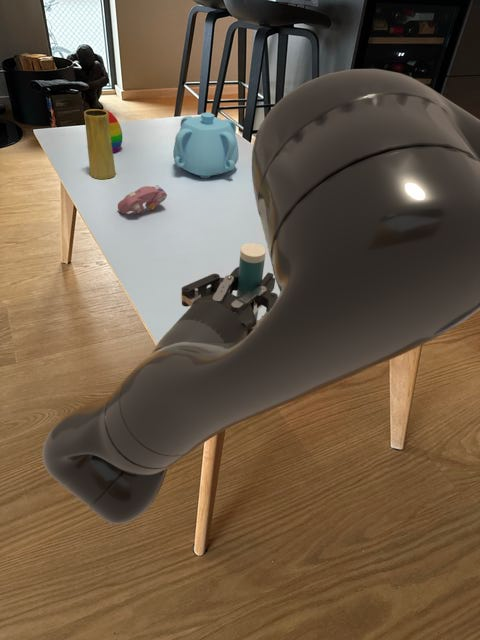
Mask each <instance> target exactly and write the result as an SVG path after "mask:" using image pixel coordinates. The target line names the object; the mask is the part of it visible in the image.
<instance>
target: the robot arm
mask: <svg viewBox="0 0 480 640" xmlns="http://www.w3.org/2000/svg"><path fill="white" fill-rule="evenodd" d="M251 178H252V179H251V180H252V187H253V194H254V198H255V204H256V208H257V213H258V215H259V218H260V219H259V220H260V223H261V224H260V225H261V227H262V231H263V235H264V239H265V244H266V247H267V250H268V255H269V259H270V262H271V266H272V271H273V273H271V272H267V273H266V274H265V276H264V277H262V281H261V283H259V285H258V287H257V288H256V289H255V290H253V291H252V292H251V291H248V292H247V293H246V294H245V295H243V296H242V297H238V296H237V295H235V294H234V291H235V292H237V285H238V274H239V266H237V267H235V268H234V269H233V270H232V272H231V273H230V274H228V275H227V274H226V275H225V276H224V277H222V276H220V274H218V273H211V274H209V275H207V276H204V277H202V278H200V279H198V280H196V281H193V282H191V283H188V284H186V285H183V286H182V287H181V292H180V295H181V297H180V298H181V305H182V306H183V307H185V308H188V307H189V308H188V309H187V310H186V311H185V312H184V313H183V315H181V317H180V318H179V319H178V320H177V321H176V322H174V324H173V326H171V328H170V329H169V330H168V331H167V332H166V333H165V334H164V335H163V336H162V337H161V339H160V340H159V341H158V343H157V345H155V348H154V349H153V351H152V352H151V353H150V354H149V355H148V356H147V357H145V358H144V359H143V360H142V361H140V362H139V364H137V366H136V367H135V368H134V369H133V370H132V371H131V372H130V373H129V374H128V375H127V377H125V378H124V380H123V381H122V382H121V383H120V384H119V385H118V386H117V388H116V389H115V390H113V392H112V393H111V394H109V395H106V396H105V397H101V398H99V399H95V400H93V401H90V402H87V403H86V404H84V405H80V407H78V408H76V409H74V410H72V411H71V412H69V413H68V414H66V415H65V416H64V417H63V418H61V419H60V421H58V423H56V424H55V425H54V427H53V428H52V429H51V431H49V433H48V435H47V436H46V438H45V440H44V443H43V446H42V454H41V455H42V462H43V465H44V467H45V469H46V471H47V473H48V474H49V475H50V476H51V478H53V479H54V480H55V481H56V482H58V483H59V484H60V485H61V486H63V487H64V488H65V489H66V490H67V491H69V492H70V493H71V494H72V495H74V496H75V497H76V498H77V499H78V500H79V501H81V503H83V504H84V505H85V506H86V507H88V508H89V509H90V510H91V511H93V512H94V513H95V514H96V515H97V516H98V517H99V518H101V519H102V520H104V521H105V522H107V523H109V524H112V525H124V524H127V523H130V522H132V521H135V520H136V519H138V518H140V517H141V516H142V515H144V513H145V512H147V510H149V508H150V507H151V506H152V505H153V503H154V502H155V500H156V498H157V496H158V494H159V492H160V491H161V489H162V486H163V483H164V482H165V478H166V476H167V472H168V469H169V468H171V467H172V466H174V465H175V464H176V463H178V462H179V461H181V460H182V459H183V458H185V457H187V456H188V455H190V454H191V453H192V452H194V451H195V450H197V449H198V448H199V447H201V446H202V445H204V444H205V443H206V442H207V441H209V440H210V439H212V438H213V437H215V436H217V435H218V434H221V433H222V432H224V431H226V430H228V429H231V427H234V426H236V425H238V424H241V423H243V422H245V421H248V420H250V419H252V418H255V417H258V416H260V415H263V414H265V413H268V412H270V411H273V410H275V409H278V408H280V407H282V406H285V405H288V404H290V403H293V402H295V401H298V400H300V399H303V398H305V397H307V396H310V395H312V394H315V393H317V392H320V391H322V390H324V389H326V388H328V387H330V386H333V385H335V384H338V383H340V382H342V381H344V380H347V379H349V378H352V377H354V376H356V375H358V374H361V373H363V372H366V371H368V370H370V369H372V368H374V367H377V366H379V365H382V364H384V363H386V362H388V361H391V360H393V359H395V358H398V357H400V356H402V355H405V354H406V353H408V352H411V351H413V350H415V349H417V348H419V347H421V346H423V345H425V344H427V343H428V342H430V341H433V340H435V339H436V338H438V337H440V336H442V335H444V334H445V333H447V332H449V331H450V330H452V329H454V328H455V327H457V326H458V325H461V324H462V323H464V322H465V321H467V320H468V319H470V318H471V317H472V316H473V315H475V314H476V313H477V312H479V311H480V119H479V118H477V117H476V116H474V115H473V114H471V113H470V112H468V111H466V110H465V109H463V108H462V107H460V106H459V105H457V104H455V103H454V102H453V101H451V100H449V98H446V97H445V96H444V95H442V94H441V93H439V92H437V91H436V90H435V89H433V88H431V87H430V86H428V85H426V84H425V83H423V82H421V81H420V80H417V79H415V78H413V77H411V76H409V75H407V74H404V73H401V72H395V71H391V70H385V69H379V68H352V69H351V68H350V69H346V70H340V71H335V72H329V73H326V74H324V75H321V76H319V77H316V78H313V79H311V80H308V81H305V82H304V83H302V84H300V85H299V86H298V87H296V88H294V89H292V90H291V91H289V92H288V93H287V94H285V95H284V96H283V97H282V98H281V99H280V100H279V101H278V102H277V103H276V104H274V105H273V107H272V108H271V109H270V110H269V111H268V113H267V114H266V116H265V118H264V119H263V120H262V122H261V123H260V125H259V127H258V129H257V132H256V135H255V138H254V141H253V146H252V151H251ZM276 284H277V287H278V289H279V294H277V293H276V292H273V291H274V290H275V285H276ZM208 286H209V287H208ZM262 307H264V308H266V309H265V312H264V314H263V315H261V318H260V319H257V320H256V317H255V314H256V312H257V310H258V311H259V310H260V309H261V308H262Z"/></svg>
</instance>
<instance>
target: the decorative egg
mask: <svg viewBox="0 0 480 640" xmlns="http://www.w3.org/2000/svg"><path fill="white" fill-rule="evenodd" d="M104 110H105V111H107V112H108V115H109V126H110V136H111V144H112V151H113V153H116V152H118V151H119V150H120V148H121V147H122V143H123V131H122V127H121V125H120V122H119V120H118V119H117V117H116V115H114V114H113V113H112V112H110V111H109V110H106V109H104Z"/></svg>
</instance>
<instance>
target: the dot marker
mask: <svg viewBox="0 0 480 640" xmlns="http://www.w3.org/2000/svg"><path fill="white" fill-rule="evenodd" d="M266 251H267V250H266V248H265V247H264V246H263V245H261V244H259V243H253V242H252V243H251V242H250V243H245V244H243V245H242V246H241V247H240V254H239V263H238V267H239V274H238V285H237V291H236V296H238V297H242V296H243V295H245V294H246V293H247V292H248V291H251V292H252V291H253V290H255V289H256V288H257V287H258V285H259V283H261V281H262V280H263V278H264V277H263V276H264V269H265V260H266V253H267V252H266ZM258 315H259V310H257V312H256V314H255V317H256V320H258Z"/></svg>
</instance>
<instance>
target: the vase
mask: <svg viewBox="0 0 480 640" xmlns="http://www.w3.org/2000/svg"><path fill="white" fill-rule="evenodd" d="M105 110H106V109H99V108H92V109H91V108H90V109H86V110H85V111H83V117H84V123H85V124H84V125H85V133H86V135H85V136H86V143H87V144H86V145H87V154H88V155H87V156H88V165H89V176H90V177H92V178H93V179H96V180H108V179H111V178H114V177H116V175H117V172H116V165H115V159H114V158H115V157H114V152H113V151H112V144H111V136H110V126H109V115H108V112H107V111H108V110H107V111H105Z"/></svg>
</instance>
